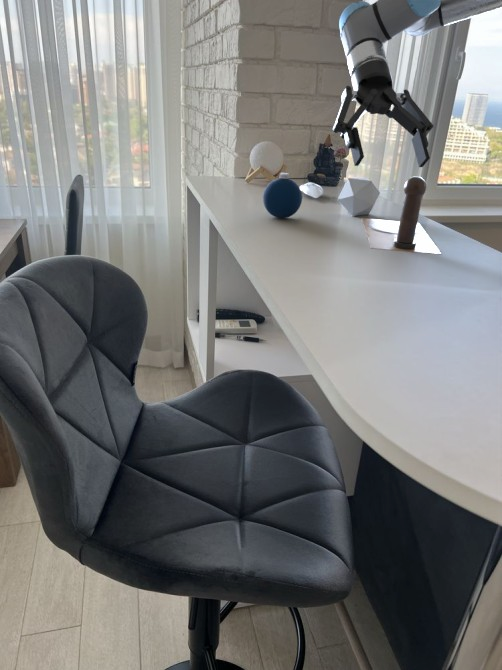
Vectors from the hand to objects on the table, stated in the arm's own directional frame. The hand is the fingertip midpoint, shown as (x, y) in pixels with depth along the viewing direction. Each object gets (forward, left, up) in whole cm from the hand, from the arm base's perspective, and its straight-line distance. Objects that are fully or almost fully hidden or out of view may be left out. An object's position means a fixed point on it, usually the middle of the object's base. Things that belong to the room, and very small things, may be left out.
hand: (392, 162), depth 95 cm
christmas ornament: (+21, -8, -14) cm, 26 cm away
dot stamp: (-3, +9, -14) cm, 16 cm away
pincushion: (+15, -36, -14) cm, 42 cm away
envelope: (-3, 0, -14) cm, 14 cm away
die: (+4, -18, -14) cm, 23 cm away
